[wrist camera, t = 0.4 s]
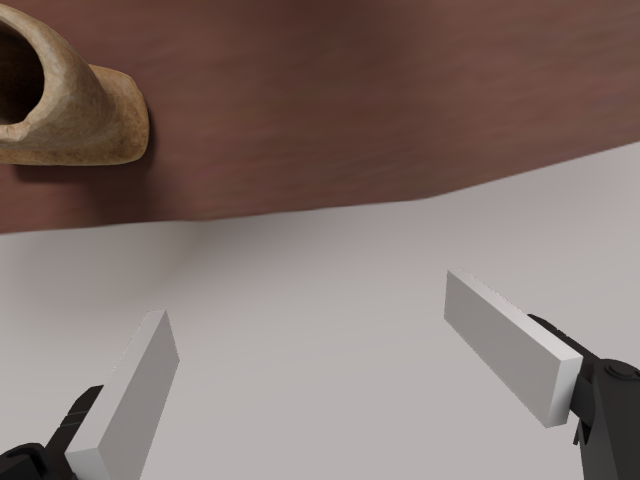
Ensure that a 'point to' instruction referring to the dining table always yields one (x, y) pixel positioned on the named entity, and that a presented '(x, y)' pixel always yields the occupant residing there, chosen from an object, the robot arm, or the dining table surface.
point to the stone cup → (63, 101)
